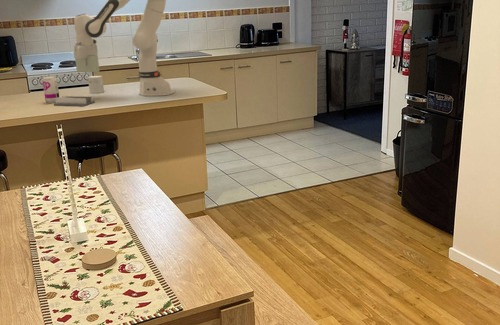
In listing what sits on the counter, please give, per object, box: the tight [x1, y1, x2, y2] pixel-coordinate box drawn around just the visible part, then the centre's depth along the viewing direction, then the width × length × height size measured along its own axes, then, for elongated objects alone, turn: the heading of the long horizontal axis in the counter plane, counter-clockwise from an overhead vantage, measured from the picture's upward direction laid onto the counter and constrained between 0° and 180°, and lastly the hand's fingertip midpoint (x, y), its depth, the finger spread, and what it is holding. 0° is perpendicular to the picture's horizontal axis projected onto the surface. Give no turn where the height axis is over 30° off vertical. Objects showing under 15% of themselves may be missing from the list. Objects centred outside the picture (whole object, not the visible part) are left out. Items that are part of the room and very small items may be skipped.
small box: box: [87, 75, 105, 94], centre depth 353 cm, size 8×6×10 cm
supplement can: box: [42, 76, 60, 104], centre depth 325 cm, size 8×8×15 cm
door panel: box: [74, 54, 101, 73], centre depth 328 cm, size 14×3×10 cm, turn 73°
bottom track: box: [53, 95, 96, 107], centre depth 318 cm, size 20×12×4 cm, turn 73°
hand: (87, 65), depth 328 cm, fingers closed on door panel, 3 cm apart
